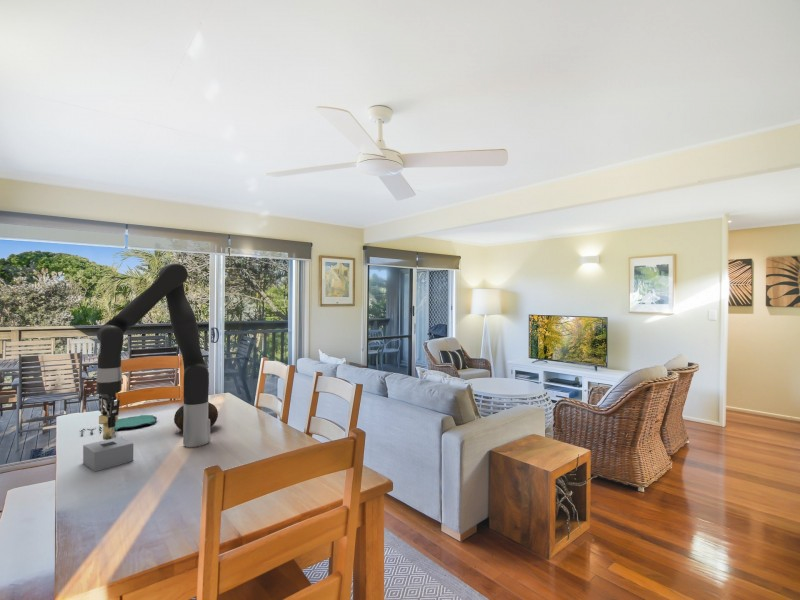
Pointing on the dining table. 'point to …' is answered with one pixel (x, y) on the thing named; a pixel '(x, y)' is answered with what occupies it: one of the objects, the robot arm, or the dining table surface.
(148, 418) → the cutlery set
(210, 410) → the dark brown ellipsoid
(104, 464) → the slate block
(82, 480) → the dining table surface
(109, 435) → the brass knob
